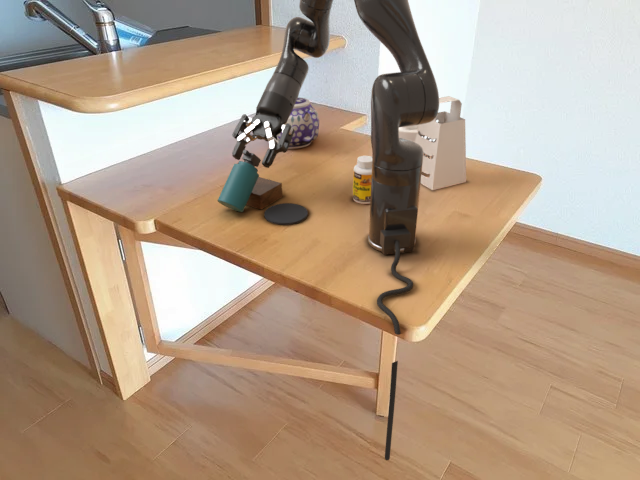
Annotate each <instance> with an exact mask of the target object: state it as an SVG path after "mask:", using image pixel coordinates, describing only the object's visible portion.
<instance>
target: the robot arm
mask: <svg viewBox="0 0 640 480" xmlns="http://www.w3.org/2000/svg"><path fill="white" fill-rule="evenodd" d="M353 2H354V5H355V10H356V12H357V15H358V16H357V17H358V18H359V20H360V21H361V22H362V24H363V25H364V27H366V29H367V30H368V31H369V32H370V33H371V34H372V35H373V36H374V38H375V39H377V40H378V41H379V42H380V43H381V44H382V45H383V46H384V47H385V48H386V49H387V50H388V52H390V54H391V56H392V57H393V58H394V60H395V62H396V64H397V67H398V69H399V71H397V72H388V73H382V74H379V75H378V76H376V78H375V80H374V82H373V83H372V86H371V92H370V93H371V94H370V145H371V152H372V155H371V156H372V177H371V199H370V204H369V222H368V223H369V225H368V226H369V227H368V237H367V243H368V244H369V246H370V247H371V248H373V249H374V250H376V251H379V252H380V253H382V254H383V255H384V256H386V255H394V259H393V261H392V263H391V265H390V271H391V274H392V276H393V277H394V278H395V279H397V280H399V281H401V282H403V283H405V284H407V285H406V286H404V287H400V288H396V289H391V290H387V291H384V292H381V293H380V294H379V295H378V297H377V299H376V305H377V307H378V308H379V309H380V310H381V312H383V313H385V314H386V315H387V316H388V317H389V319H390V320H391V323H392V325H393V328H394V333H395V334H394V335H396V336H400V335H401V327H400V322H399V320H398V318H397V316H396V315H395V313H394V312H393V311H392V310H391V309H390V308H389V307H387V306H386V305H385V304H384V303H383V301H384V299H386V298H387V297H391V296H396V295H402V294H405V293H408V292H410V291H411V290H412V289H413V287H414V282H413V280H412V279H411V278H408V277H407V276H404V275H401V274H400V273H398V272H397V267H398V264H399V262H400V259H401V254H403V253H412V252H413V253H414V252H415V246H416V242H417V241H416V240H417V237H416V234H417V224H418V214H419V213H418V212H419V203H420V194H421V174H422V173H423V172H422V163H423V156H424V153H423V149H422V147H421V146H420V145H418V144H417V143H415V142H413V141H410V140H406V139H402V138H399V127H406V126H413V125H420V124H426V123H429V122H431V121H433V120H434V119H435V118H436V116H437V113H439V109H440V104H439V98H440V94H439V88H438V84H437V81H436V78H435V75H434V72H433V70H432V67H431V65H430V61H429V59H428V57H427V55H426V52H425V50H424V46H423V44H422V42H421V39H420V37H419V33H418V30H417V27H416V24H415V20H414V18H413V14H412V10H411V6H410V3H409V0H353ZM333 4H334V0H299V11H300V13H302V15H304V16H305V17H306V18H307V19H306V18H303V17H300V16H295V17H293V18H291V19H290V20H289V21H288V23H286V26H285V31H284V39H283V46H282V50H281V55H280V57H279V60H278V63H277V65H276V67H275V69H274V71H273V74H272V76H271V77H270V79H269V80H268V82H267V84H266V85H265V88H264V90H263V92H262V94H261V96H260V99H259V101H258V104H257V105H256V107H255V114H254V116H253V117H250V116H248V115H247V114H245V113H244V114H242V115H241V117H240V119H239V120H238V123H237V125H236V126H235V129H234V130H233V132H232V135H231V136H232V137H233V138H234V139H235V140H236V143H235V146H234V147H233V150H232V152H231V154H232V157H233V158H234V159H235V160H236V161H241V159H242V157H243V155H244V154H243V150H246V148H247V145H248V144H250V143H251V142H254V141H256V140H261V141H262V140H264V141H265V142H268V146H269V148H267V150H266V152H265V154H264V156H263V159H262V160H261V165H262V166H263V167H264V168H266V169H270V167H271V166H272V165H273V163H274V161H275V159H276V156H277V155H279V153H284V154H285V153H287V152H288V150H289V149H288V147H289V145H290V142H291V139H292V137H293V134H294V132H295V130H294V128H293V127H292V126H291V125H290V124H289V123H287V121H288V118H289V116H290V114H291V112H292V110H293V107H294V105H295V103H296V101H297V98H298V97H299V95H300V92H301V89H302V87H303V85H304V82H305V80H306V78H307V75H308V73H309V68H310V67H309V64H308V62H307V61H306V60H305V59H304V58H302V57H301V56H300V55H299V54H297V52H300V53H301V54H304V55H306V56H309V57H312V58H313V59H314V58H315V59H318V58H321V57H323V56H324V55H325V54H326V53H327V51H328V50H329V47H330V42H331V41H330V40H331V28H330V25H331V24H330V21H331V13H332V7H333ZM296 51H297V52H296ZM286 123H287V124H286ZM284 124H286V125H284ZM281 132H282V135H281V137H280V140H278V134H280V133H281ZM422 175H423V174H422ZM398 364H399V361H398V360H395V361H393V362H392V363H391V369H390V370H391V371H390V372H391V373H390V384H389V386H390V387H389V389H390V390H389V398H388V399H389V400H388V412H387V423H386V425H387V427H386V437H385V449H384V460H385V461H389V460H390V459H391V447H392V439H393V438H392V436H393V427H394V426H393V425H394V416H395V415H394V414H395V402H396V391H397V377H398Z"/></svg>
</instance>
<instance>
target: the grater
mask: <svg viewBox="0 0 640 480" xmlns="http://www.w3.org/2000/svg"><path fill="white" fill-rule="evenodd" d="M448 102H450V110H449V112H448V111H438V113H437V116H436V118H435V119H434V120H433V121H431V122H429V123H426V124H420V125H419V126H418V130H417V134H416V139H415V143H417V144H418V145H420V146H421V147H422V149H423V163H422V173H424V174H426V175H429V176H425V175H424V174H421V183H420V185H423V186H424V187H426V188H428V189H429V190H431V191H435V190H440V189H444V188H448V187H451V186H455V185H459V184H463V183H466V182H467V150H466V149H467V148H466V147H467V146H466V145H467V144H466V119H465V118H464V117H461V111H462V104H463V103H462V102H461V100H460V99H459V98H455V97H452V96H449V95H448V96H442V97H439V105H440V104H443V103H448ZM437 121H438V122H437ZM425 137H426V138H425ZM430 157H431V158H430Z"/></svg>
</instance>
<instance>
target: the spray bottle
mask: <svg viewBox="0 0 640 480" xmlns="http://www.w3.org/2000/svg"><path fill="white" fill-rule="evenodd" d="M241 159H242V160H238V163H234V164H233V166H232V168H231V170H230V172H229V175H228V176H227V179H226V181H225V183H224V185H223V188H222V190H221V192H220V194H219V196H218V198H217V202H218V203H219V204H221V205H222V206H224V207H226V208H228V209H231V210H233V211H235V212H237V213H238V212H239V213H243V212H244V210H245V209H246V207H247V205H246V204H247V201H248V199H249V197H250V195H251V192H252V190H253V188H254V186H255V184H256V181H257V179H258V177H260V175H259V173H258V172H259V169H258V167H259V166H260V163H261V162H262V159H261V158H260V157H259V156H258V155H256V154H255V153H253V152H250V151H249V150H248V149H244V150H243V154H242V156H241Z"/></svg>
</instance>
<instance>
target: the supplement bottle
mask: <svg viewBox="0 0 640 480" xmlns="http://www.w3.org/2000/svg"><path fill="white" fill-rule="evenodd" d="M356 160H357V161H356V164H355V165H354V166H353V173H352V199H353V201H354V202H355V203H357V204H362V205H370V199H371V177H372V155H360V156H358V157H357V159H356Z"/></svg>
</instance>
